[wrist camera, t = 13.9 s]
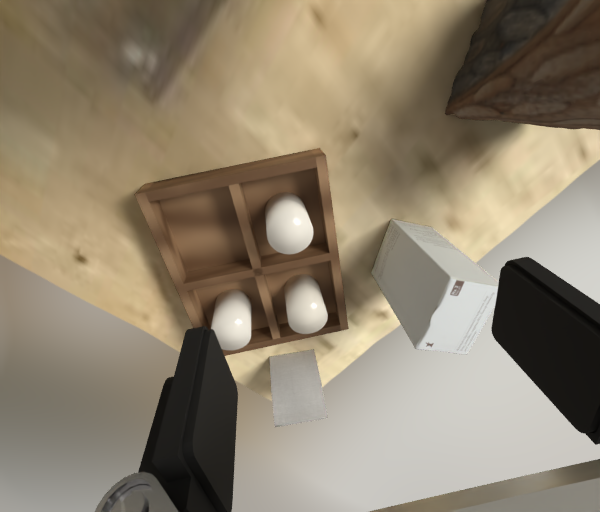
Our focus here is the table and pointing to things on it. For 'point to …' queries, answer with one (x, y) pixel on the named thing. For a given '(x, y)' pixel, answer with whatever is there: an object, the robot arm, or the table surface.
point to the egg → (232, 319)
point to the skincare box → (433, 288)
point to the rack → (246, 241)
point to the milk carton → (296, 388)
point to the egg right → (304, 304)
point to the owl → (533, 65)
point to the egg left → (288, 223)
